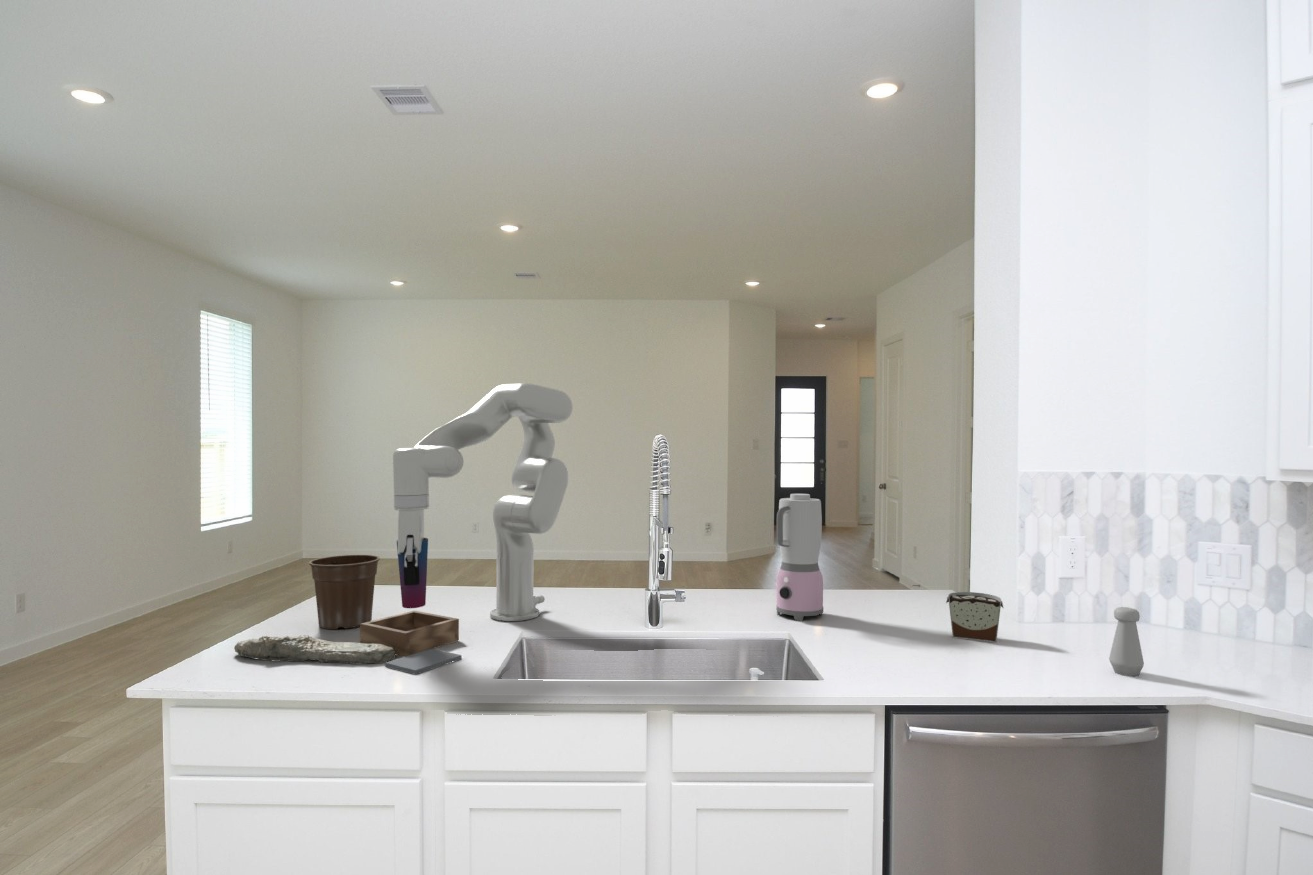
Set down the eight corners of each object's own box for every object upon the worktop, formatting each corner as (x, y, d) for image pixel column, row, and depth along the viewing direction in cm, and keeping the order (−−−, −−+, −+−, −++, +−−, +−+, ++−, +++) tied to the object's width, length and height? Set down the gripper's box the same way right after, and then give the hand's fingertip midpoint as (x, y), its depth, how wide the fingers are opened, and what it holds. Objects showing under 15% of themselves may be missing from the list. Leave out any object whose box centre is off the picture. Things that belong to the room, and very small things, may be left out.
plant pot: (293, 628, 178) (293, 561, 178) (344, 613, 193) (344, 552, 193) (344, 635, 172) (345, 566, 172) (393, 619, 187) (393, 556, 187)
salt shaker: (1102, 668, 149) (1102, 605, 149) (1129, 668, 149) (1129, 604, 149) (1123, 678, 143) (1123, 611, 143) (1150, 677, 144) (1150, 611, 144)
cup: (419, 609, 162) (418, 542, 161) (392, 608, 163) (390, 541, 163) (435, 602, 169) (433, 537, 168) (408, 601, 170) (406, 537, 170)
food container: (1003, 636, 173) (1003, 594, 173) (1003, 643, 168) (1003, 599, 168) (947, 630, 178) (947, 589, 178) (945, 636, 173) (946, 594, 173)
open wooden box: (414, 631, 175) (414, 610, 175) (458, 640, 167) (458, 618, 167) (360, 646, 163) (360, 623, 163) (405, 657, 155) (405, 633, 155)
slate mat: (432, 652, 158) (432, 648, 158) (461, 658, 154) (461, 655, 154) (385, 666, 148) (385, 662, 148) (415, 674, 143) (415, 670, 143)
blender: (795, 607, 202) (795, 491, 202) (833, 615, 193) (833, 494, 193) (758, 616, 192) (759, 494, 192) (796, 625, 183) (797, 497, 183)
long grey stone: (379, 675, 148) (402, 663, 157) (382, 649, 148) (404, 638, 158) (220, 659, 152) (252, 648, 162) (222, 633, 152) (254, 624, 162)
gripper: (398, 499, 173) (400, 574, 173) (389, 507, 156) (391, 591, 156) (431, 497, 175) (433, 572, 175) (425, 505, 158) (427, 588, 158)
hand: (413, 580), depth 166 cm, fingers closed on cup, 6 cm apart
